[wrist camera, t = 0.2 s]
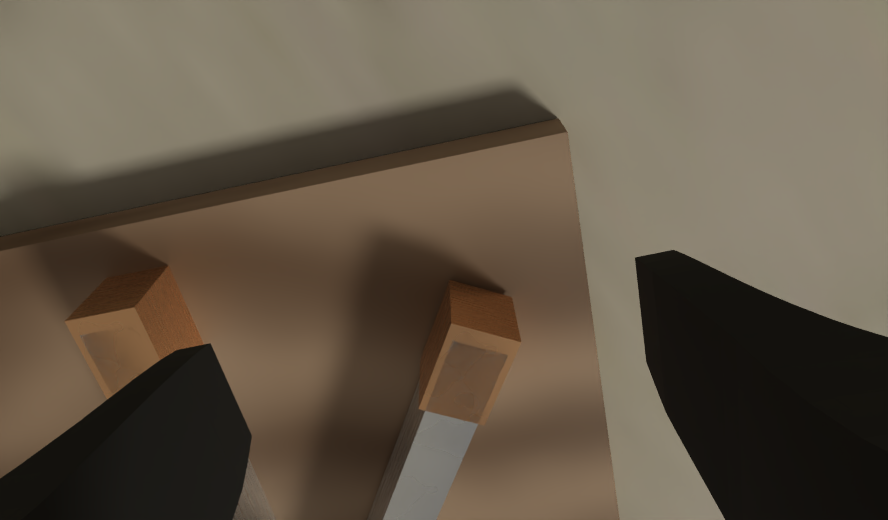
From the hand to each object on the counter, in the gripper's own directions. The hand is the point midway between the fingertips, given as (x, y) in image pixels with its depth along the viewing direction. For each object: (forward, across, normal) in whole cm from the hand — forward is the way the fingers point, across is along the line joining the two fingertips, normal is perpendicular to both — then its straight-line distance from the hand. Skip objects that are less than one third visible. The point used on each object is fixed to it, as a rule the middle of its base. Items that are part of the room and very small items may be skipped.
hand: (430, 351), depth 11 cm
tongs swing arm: (+8, +3, +9) cm, 13 cm away
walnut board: (+10, +8, +9) cm, 16 cm away
